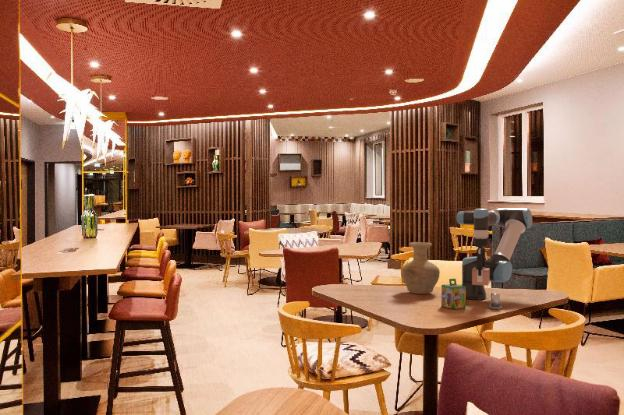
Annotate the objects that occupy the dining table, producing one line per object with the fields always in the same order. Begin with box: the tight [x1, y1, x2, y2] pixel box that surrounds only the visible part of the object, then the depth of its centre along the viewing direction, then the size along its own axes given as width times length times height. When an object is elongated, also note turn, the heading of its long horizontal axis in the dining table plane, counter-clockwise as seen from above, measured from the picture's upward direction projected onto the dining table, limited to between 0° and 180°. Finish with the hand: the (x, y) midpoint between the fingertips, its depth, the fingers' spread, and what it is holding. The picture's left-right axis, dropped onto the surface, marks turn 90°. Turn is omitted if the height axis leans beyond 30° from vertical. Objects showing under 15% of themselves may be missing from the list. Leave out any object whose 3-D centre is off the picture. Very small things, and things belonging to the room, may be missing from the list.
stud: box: [487, 292, 503, 311], centre depth 274 cm, size 7×7×8 cm
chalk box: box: [440, 278, 467, 310], centre depth 276 cm, size 9×9×15 cm
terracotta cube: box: [472, 267, 491, 286], centre depth 282 cm, size 8×8×8 cm
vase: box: [400, 241, 441, 295], centre depth 315 cm, size 22×22×30 cm
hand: (480, 280), depth 282 cm, fingers closed on terracotta cube, 8 cm apart
